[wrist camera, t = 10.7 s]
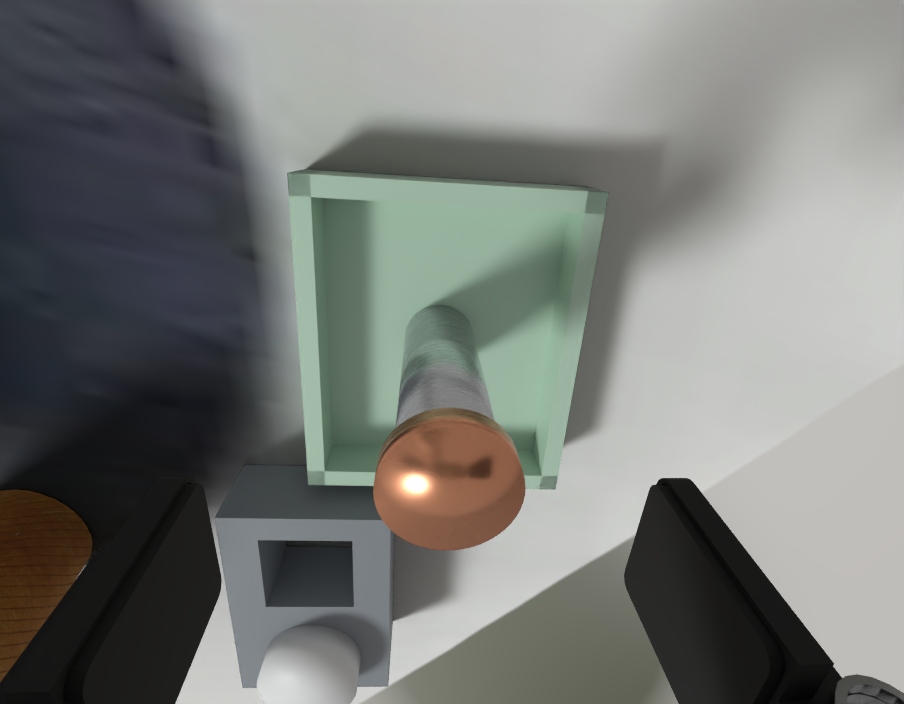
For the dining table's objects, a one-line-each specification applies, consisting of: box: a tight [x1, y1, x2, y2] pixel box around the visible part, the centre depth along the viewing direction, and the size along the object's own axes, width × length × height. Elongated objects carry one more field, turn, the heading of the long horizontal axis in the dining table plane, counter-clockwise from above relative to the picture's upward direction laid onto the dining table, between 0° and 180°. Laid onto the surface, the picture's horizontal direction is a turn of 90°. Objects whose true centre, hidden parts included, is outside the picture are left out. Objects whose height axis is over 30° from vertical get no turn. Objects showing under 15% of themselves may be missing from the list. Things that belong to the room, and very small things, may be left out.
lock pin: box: [373, 305, 525, 550], centre depth 18 cm, size 4×4×11 cm
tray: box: [287, 169, 609, 489], centre depth 22 cm, size 14×12×3 cm
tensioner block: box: [215, 465, 394, 704], centre depth 26 cm, size 12×8×6 cm, turn 176°
